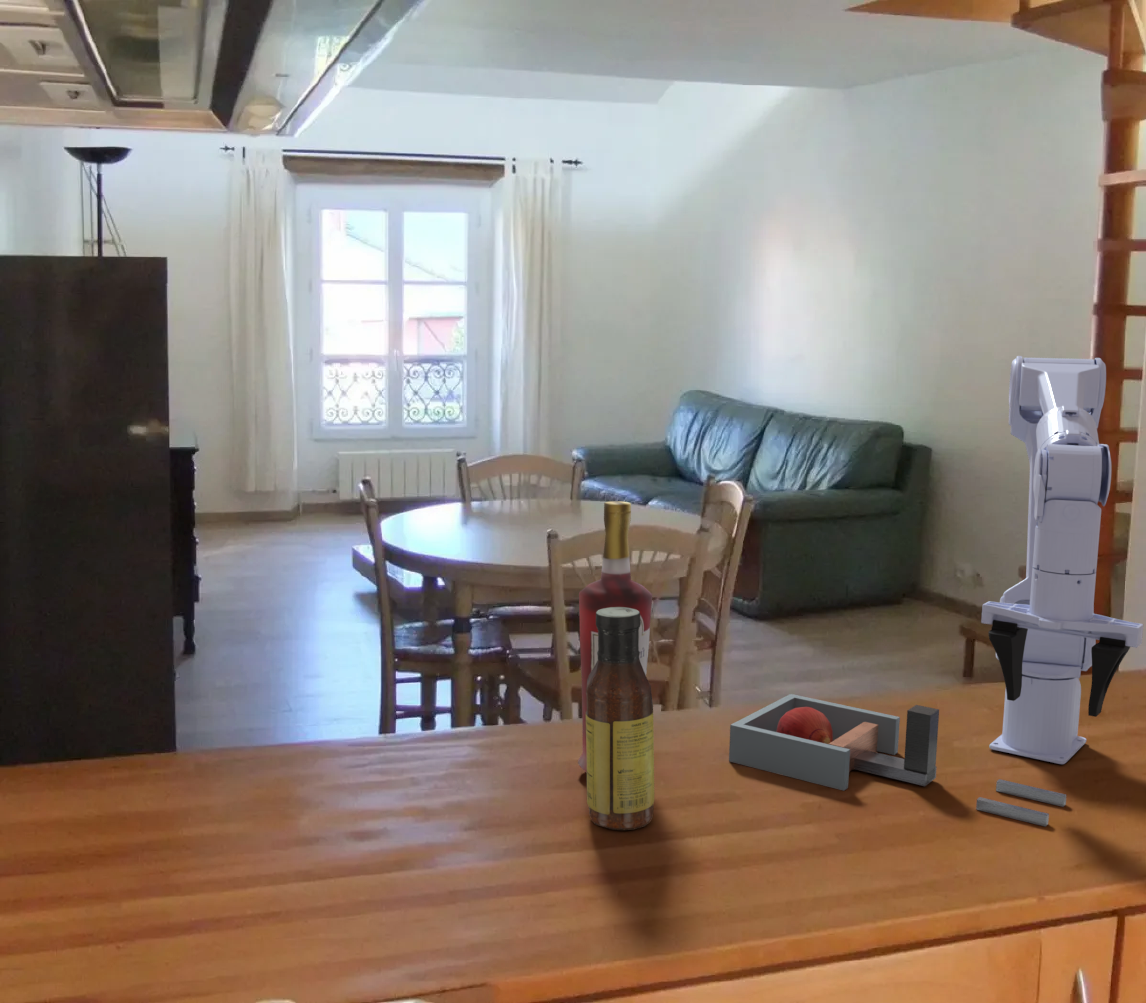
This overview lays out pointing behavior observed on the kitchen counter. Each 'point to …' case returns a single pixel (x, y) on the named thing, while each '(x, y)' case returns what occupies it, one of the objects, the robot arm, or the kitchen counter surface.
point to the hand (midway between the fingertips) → (1053, 705)
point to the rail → (1021, 812)
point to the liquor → (611, 598)
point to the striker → (917, 748)
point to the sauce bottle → (619, 726)
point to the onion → (806, 725)
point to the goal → (806, 741)
